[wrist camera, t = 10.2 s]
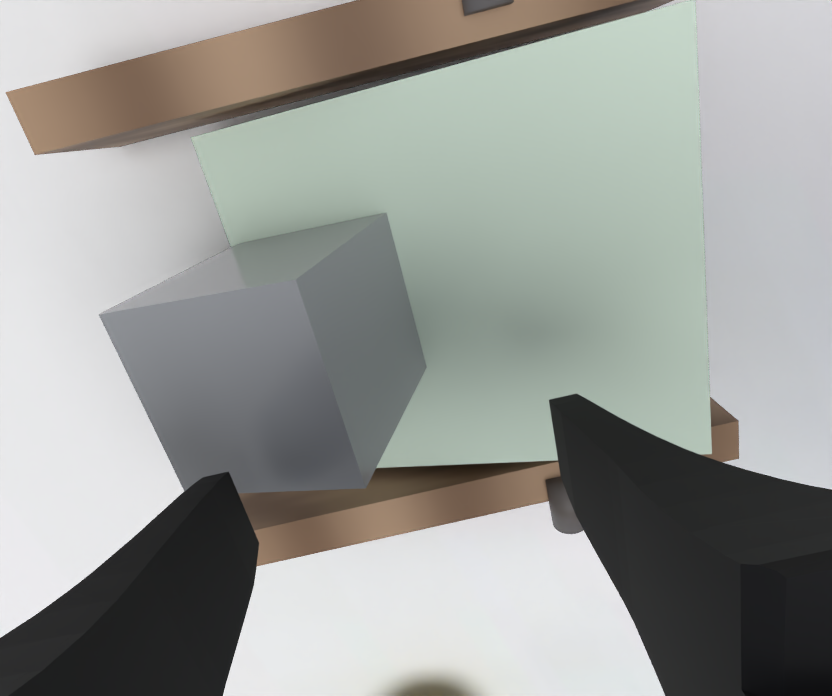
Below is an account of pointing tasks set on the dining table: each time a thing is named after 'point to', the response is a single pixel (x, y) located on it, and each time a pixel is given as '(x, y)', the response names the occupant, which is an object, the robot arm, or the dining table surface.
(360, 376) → the grey block
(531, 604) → the dining table surface
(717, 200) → the dining table surface
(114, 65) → the frame
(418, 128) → the trapdoor
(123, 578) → the robot arm
